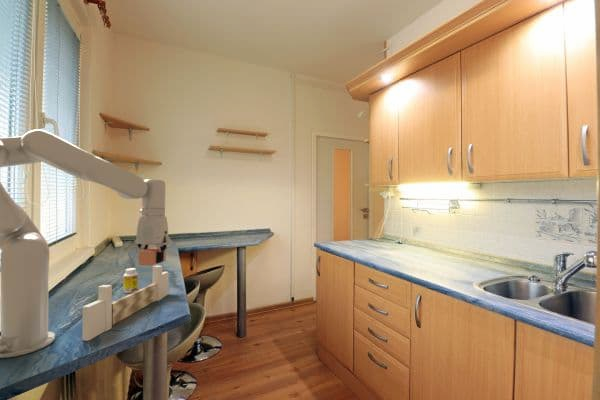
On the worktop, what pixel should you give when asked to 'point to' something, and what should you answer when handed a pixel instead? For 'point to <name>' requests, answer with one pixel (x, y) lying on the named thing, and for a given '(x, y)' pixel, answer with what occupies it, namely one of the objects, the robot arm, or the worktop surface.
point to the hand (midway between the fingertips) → (152, 261)
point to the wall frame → (100, 311)
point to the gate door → (133, 303)
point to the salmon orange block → (149, 256)
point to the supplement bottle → (130, 281)
